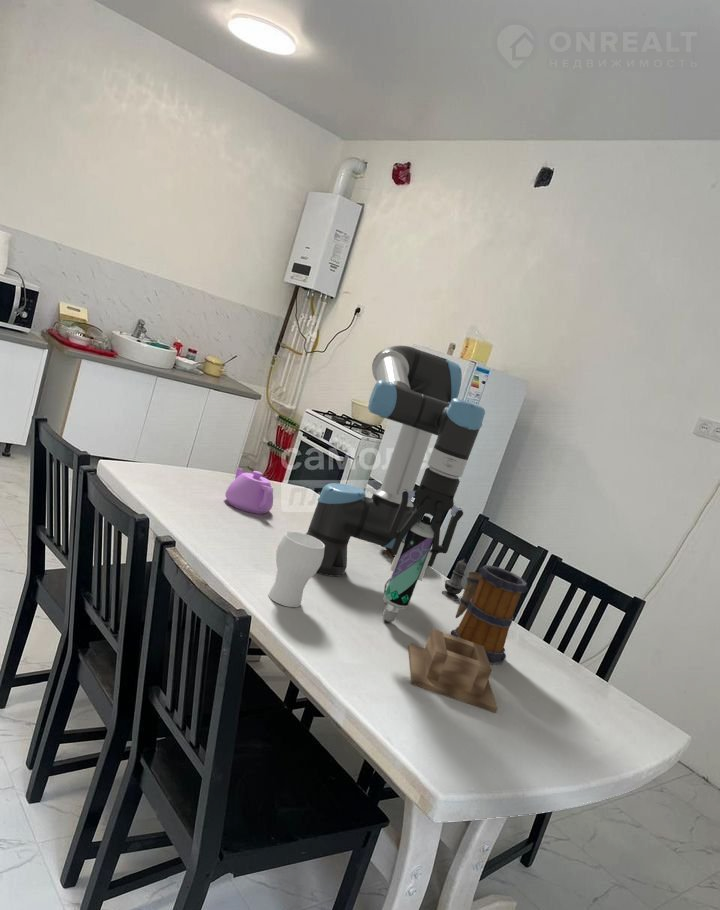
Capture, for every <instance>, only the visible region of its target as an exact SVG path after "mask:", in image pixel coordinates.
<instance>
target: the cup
mask: <svg viewBox="0 0 720 910" xmlns="http://www.w3.org/2000/svg"><path fill="white" fill-rule="evenodd" d="M276 548H277V549H276V554H275V556H276V557H275V564H276V569H277V571H276V575H275V581H274V582H273V584H272V586H271V588H270V590H269V592H268V597H269V599H270V600H272V601H273V602H275V603H276V604H279V605H282V606H285V607H287V608H289V607H290V608H297V607H300V606H301V604H302V600H303V593H304V589H305V588H306V585H307V584H308V581H309V580H310V579H311V578H312V577H314V576H315V574H316V573H317V570H318V569H319V567H320V566H321V563H322V560H323V557H324V549H325V545H324V544H323V543H322V542H321V541H320V540H318V539H317V538H315V537H312V536H310V535H307V534H306V533H303V532H300V531H294V530H289V531H286V532H285V533H284V535H283V536H282V537H281V540H280V541H279V542H278V545H277V547H276Z"/></svg>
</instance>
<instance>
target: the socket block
mask: <svg viewBox="0 0 720 910" xmlns="http://www.w3.org/2000/svg"><path fill="white" fill-rule="evenodd" d="M407 651H408V660H409V671H410V683H411V685H412V686H416V687H419V688H423V689H424V690H429V691H432V692H433V693H437V694H440V695H442V696H446V697H448V698H452V699H455V700H457V701H461V702H463V703H467V704H470V705H472V706H476V707H478V708H481V709H484V710H487V711H490V712H493V713H494V714H495V713H497V712H498V709H499V707H498V705H497V702H496V699H495V698H496V697H495V696H494V693H493V689H492V687H491V683H490V679H489V678H490V676H491V674H492V671H493V669H492V665H490V663H489V660H488V658H487V655H486V652H485V649H484V646H482V645H479V644H476V643H473V642H470V641H467V640H464V639H461V638H458V637H456V636H453V635H451V633H450V634H449V633H447V632H443V631H442V630H441V631H440V630H439V629H435V628H431V630H430V633H429V636H428V639H427V641H426V643H425V647H423V646H420V645H417V644H413V643H411V642H410V643H409V644H408V648H407Z"/></svg>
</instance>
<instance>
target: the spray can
mask: <svg viewBox="0 0 720 910" xmlns="http://www.w3.org/2000/svg"><path fill="white" fill-rule="evenodd" d="M431 519H432V518H431V517H430V516H427V515H423V516H422V518H421V519H419V520H418V521H416V522H415V523H414V525H413V526H412V527H411V529H410V530H409V531H408V533H407V536H406V539H405V541H404V542H405V544H404V547H403V550H402V552H401V555H400V558H399V560H398V563H397V566H396V568H395V571H392V574H391V577H390V578H391V579H390V578H389V579H390V582H389V585H388V587H387V590H386V593H385V594H384V596H383V600H384V601H385V602H387V603H388V604H390V605H392V606H394V607H397V608H401V609H403V610H406V609H408V607H409V604H410V601H411V599H412V597H413V594H414V591H415V588H416V586H417V583H418V581H419V580H418V578H419V575H420V572H421V570H422V567H423V564H424V562H425V559H426V556H427V554H428V551H429V549H431V547H432V541H433V538H434V530H433V528H434V527H432V523H431ZM401 609H400V610H401Z"/></svg>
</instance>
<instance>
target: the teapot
mask: <svg viewBox="0 0 720 910" xmlns="http://www.w3.org/2000/svg"><path fill="white" fill-rule="evenodd" d="M235 472H236V473H235V476H234V480H233V481H232V482H230V484H229V486H228V487H227V489H226V491H225V499H226V501H227V503H228V504H229V505H230V506H232V507H234V508H236V509H238V510H241V511H244V512H247V513H251V514H255V515H256V514H257V515H264V514H266V513H268V512H269V511H270V510H272V508H273V505H274V493H273V492H274V487H272V484H271V482H270V480H269V479H268V478H266V477H264V476H263V473H262V472H260V471H257V470H253V471H252V473H251V472H244V469H242V468H241V467H237V468H236V471H235Z"/></svg>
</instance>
